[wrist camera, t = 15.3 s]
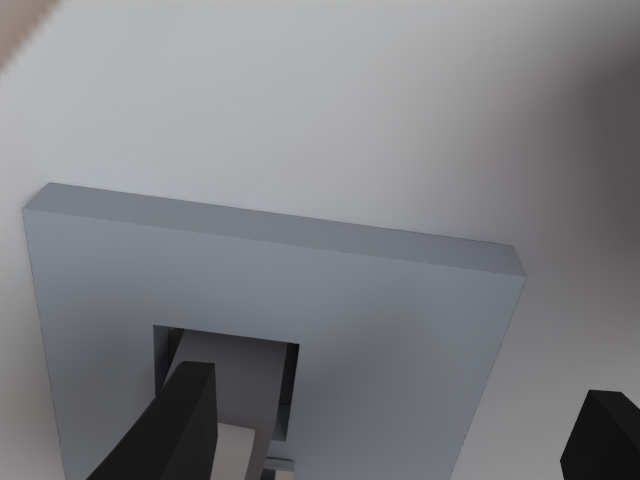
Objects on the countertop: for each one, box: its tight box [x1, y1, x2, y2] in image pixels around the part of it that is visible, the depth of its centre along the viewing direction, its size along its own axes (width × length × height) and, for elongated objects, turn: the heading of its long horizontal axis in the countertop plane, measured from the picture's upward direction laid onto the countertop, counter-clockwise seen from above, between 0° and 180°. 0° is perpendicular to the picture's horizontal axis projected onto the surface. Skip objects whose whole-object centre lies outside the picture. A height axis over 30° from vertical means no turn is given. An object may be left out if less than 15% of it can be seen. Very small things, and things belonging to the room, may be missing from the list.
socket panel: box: [22, 183, 527, 480], centre depth 24 cm, size 17×16×2 cm
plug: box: [163, 329, 288, 480], centre depth 22 cm, size 4×4×6 cm
